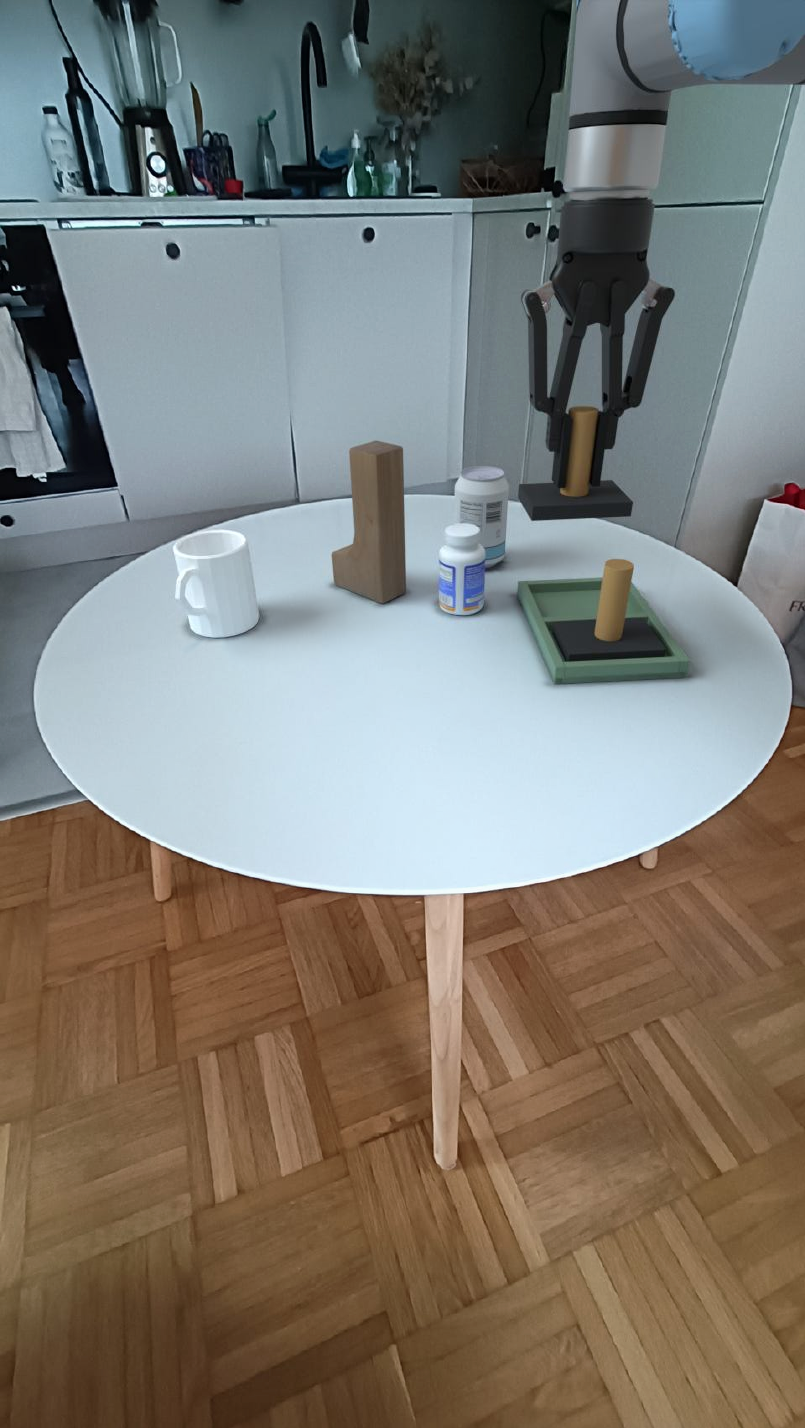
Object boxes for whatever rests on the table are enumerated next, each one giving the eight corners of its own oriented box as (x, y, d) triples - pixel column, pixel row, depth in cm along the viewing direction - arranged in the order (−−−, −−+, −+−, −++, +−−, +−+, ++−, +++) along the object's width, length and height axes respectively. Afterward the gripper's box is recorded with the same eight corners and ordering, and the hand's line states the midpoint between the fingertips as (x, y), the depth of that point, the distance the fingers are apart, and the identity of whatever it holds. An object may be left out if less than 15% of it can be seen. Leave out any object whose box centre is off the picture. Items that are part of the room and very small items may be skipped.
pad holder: (686, 677, 73) (690, 660, 72) (553, 684, 72) (555, 667, 71) (625, 590, 89) (627, 576, 88) (516, 595, 89) (517, 581, 88)
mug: (158, 650, 80) (137, 567, 74) (212, 602, 89) (197, 526, 84) (222, 659, 78) (205, 575, 72) (270, 610, 87) (259, 532, 82)
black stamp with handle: (663, 662, 74) (682, 576, 68) (567, 666, 74) (578, 581, 68) (641, 629, 80) (657, 548, 74) (552, 633, 79) (561, 552, 74)
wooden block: (332, 584, 93) (320, 440, 82) (357, 573, 95) (348, 432, 85) (382, 605, 88) (376, 454, 77) (407, 593, 90) (404, 445, 80)
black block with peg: (631, 516, 71) (647, 415, 66) (531, 521, 71) (539, 420, 65) (610, 493, 77) (623, 399, 71) (517, 497, 77) (524, 403, 71)
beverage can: (503, 552, 100) (509, 464, 93) (504, 572, 95) (510, 481, 88) (454, 551, 101) (456, 464, 94) (452, 571, 95) (453, 480, 88)
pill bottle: (484, 597, 89) (488, 520, 83) (482, 617, 84) (486, 538, 79) (440, 595, 89) (441, 519, 84) (436, 615, 85) (436, 537, 79)
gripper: (685, 194, 62) (640, 468, 76) (504, 199, 62) (491, 474, 75) (722, 192, 56) (665, 491, 70) (521, 198, 55) (504, 498, 69)
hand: (575, 482), depth 72 cm, fingers closed on black block with peg, 3 cm apart
